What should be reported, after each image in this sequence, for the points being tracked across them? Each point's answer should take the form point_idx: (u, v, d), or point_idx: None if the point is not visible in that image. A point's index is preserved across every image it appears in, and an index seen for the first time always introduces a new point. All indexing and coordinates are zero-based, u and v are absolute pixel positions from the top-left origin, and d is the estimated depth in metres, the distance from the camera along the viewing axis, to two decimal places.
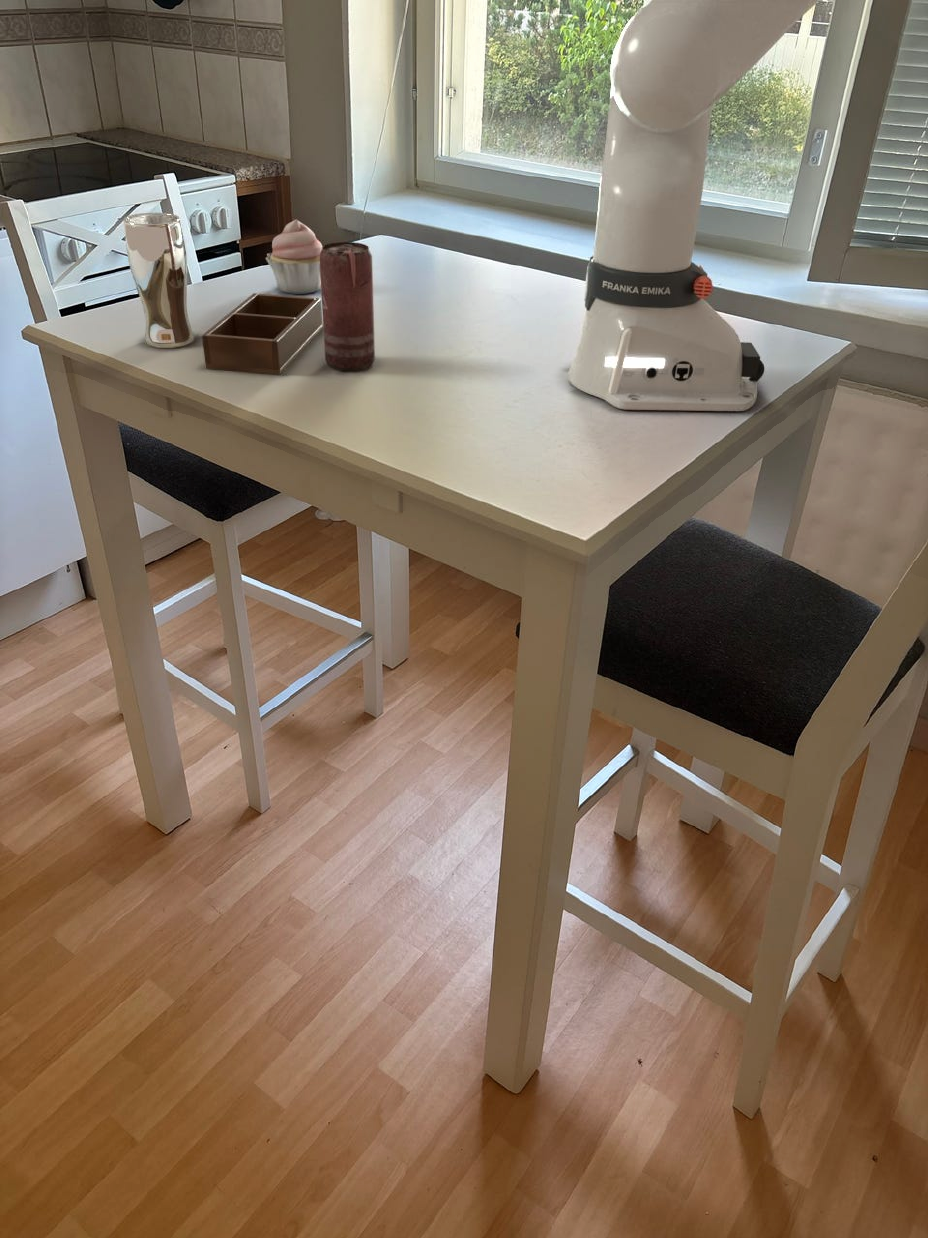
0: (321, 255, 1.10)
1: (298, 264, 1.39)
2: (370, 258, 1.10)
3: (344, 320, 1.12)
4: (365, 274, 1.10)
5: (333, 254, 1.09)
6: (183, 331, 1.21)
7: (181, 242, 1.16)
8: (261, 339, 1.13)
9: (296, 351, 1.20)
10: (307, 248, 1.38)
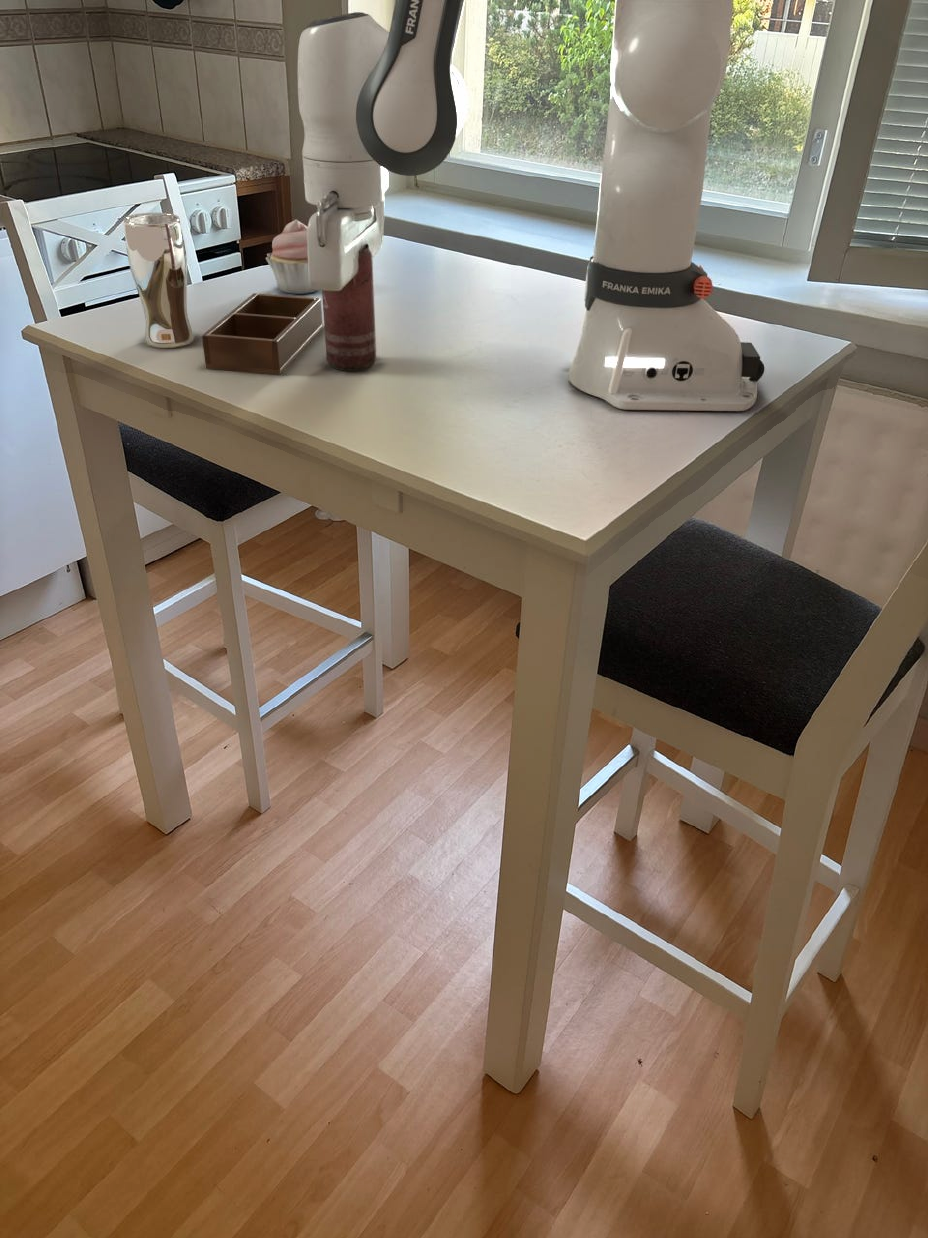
0: None
1: (298, 264, 1.39)
2: (370, 256, 1.10)
3: (345, 319, 1.12)
4: (366, 273, 1.10)
5: None
6: (183, 331, 1.21)
7: (181, 242, 1.16)
8: (261, 339, 1.13)
9: (296, 351, 1.20)
10: (307, 248, 1.38)
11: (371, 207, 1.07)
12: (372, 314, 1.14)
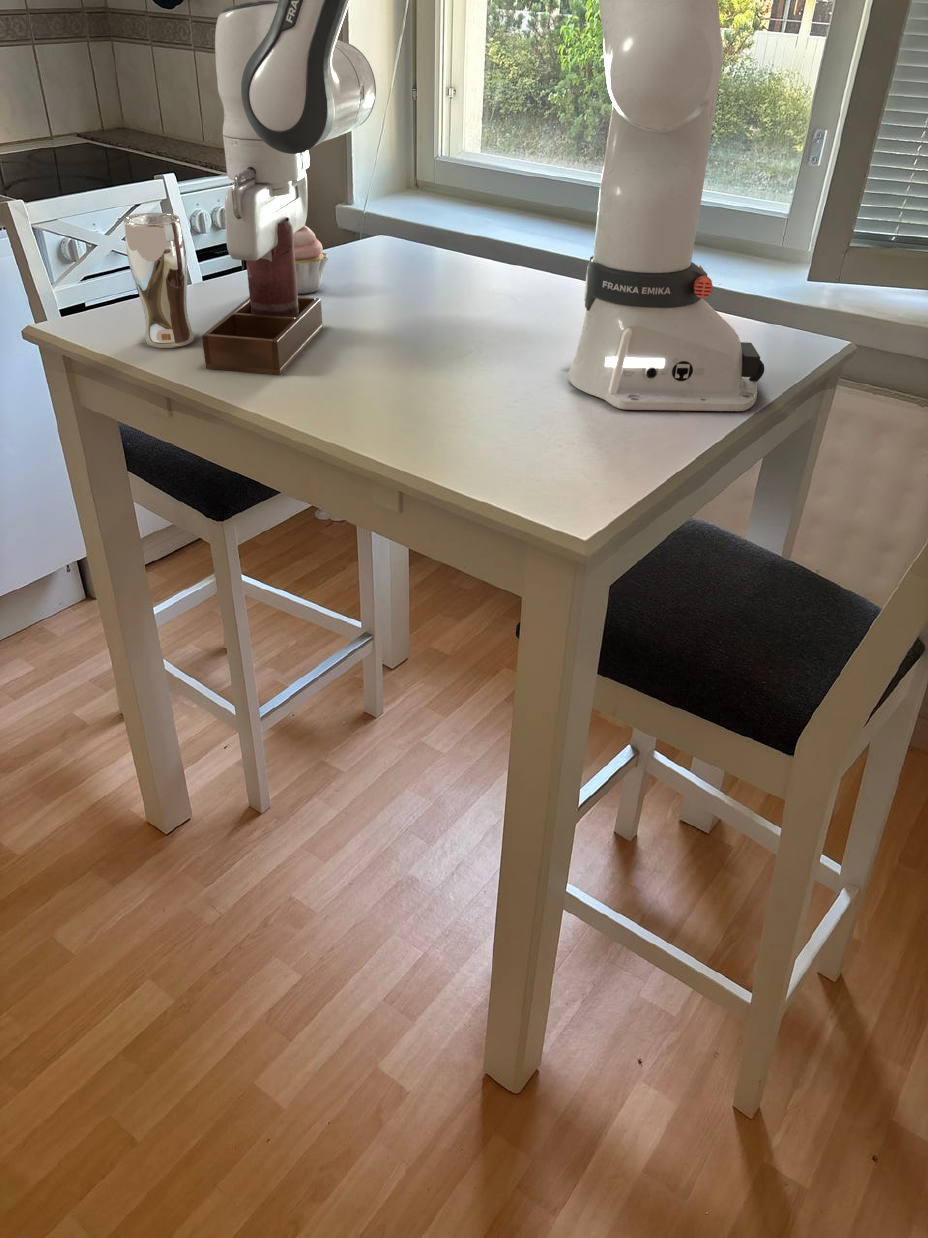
0: None
1: (298, 264, 1.39)
2: (290, 229, 1.18)
3: (267, 287, 1.20)
4: (286, 244, 1.18)
5: None
6: (183, 331, 1.21)
7: (181, 242, 1.16)
8: (261, 339, 1.13)
9: (296, 351, 1.20)
10: (307, 248, 1.38)
11: (289, 183, 1.15)
12: (294, 284, 1.21)
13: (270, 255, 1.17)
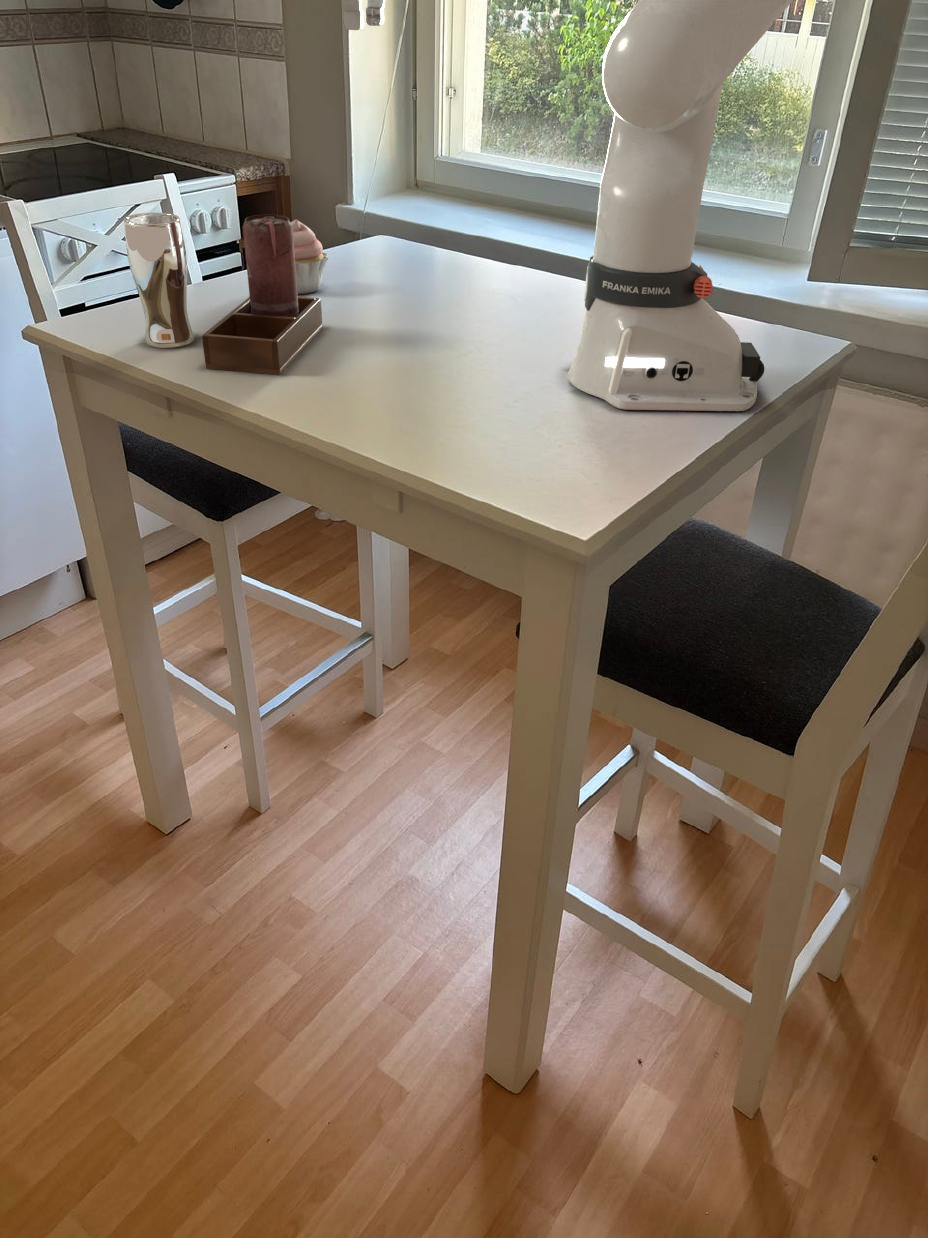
0: (244, 226, 1.17)
1: (298, 264, 1.39)
2: (290, 229, 1.18)
3: (267, 287, 1.20)
4: (286, 244, 1.18)
5: (254, 225, 1.16)
6: (183, 331, 1.21)
7: (181, 242, 1.16)
8: (261, 339, 1.13)
9: (296, 351, 1.20)
10: (307, 248, 1.38)
11: None
12: (293, 284, 1.21)
13: None
